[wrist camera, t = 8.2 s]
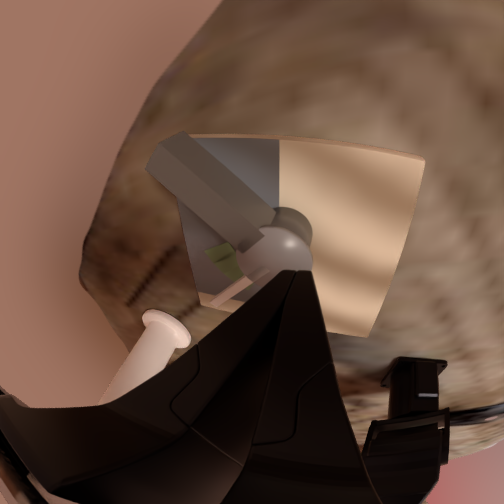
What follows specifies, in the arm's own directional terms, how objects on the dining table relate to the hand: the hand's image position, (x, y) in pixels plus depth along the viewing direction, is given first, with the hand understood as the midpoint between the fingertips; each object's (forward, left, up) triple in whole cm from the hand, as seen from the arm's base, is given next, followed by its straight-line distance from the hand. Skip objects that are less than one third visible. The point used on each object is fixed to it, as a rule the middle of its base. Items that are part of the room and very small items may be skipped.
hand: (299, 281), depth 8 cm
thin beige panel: (-6, +2, -10) cm, 12 cm away
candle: (-22, +17, -11) cm, 30 cm away
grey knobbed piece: (-4, +6, -9) cm, 12 cm away
